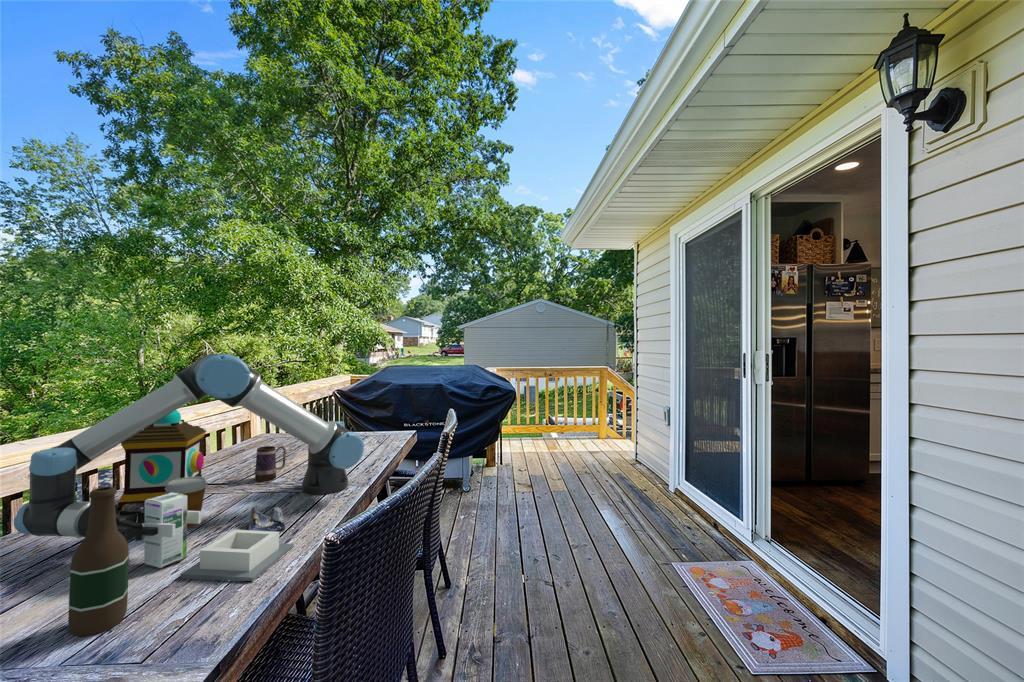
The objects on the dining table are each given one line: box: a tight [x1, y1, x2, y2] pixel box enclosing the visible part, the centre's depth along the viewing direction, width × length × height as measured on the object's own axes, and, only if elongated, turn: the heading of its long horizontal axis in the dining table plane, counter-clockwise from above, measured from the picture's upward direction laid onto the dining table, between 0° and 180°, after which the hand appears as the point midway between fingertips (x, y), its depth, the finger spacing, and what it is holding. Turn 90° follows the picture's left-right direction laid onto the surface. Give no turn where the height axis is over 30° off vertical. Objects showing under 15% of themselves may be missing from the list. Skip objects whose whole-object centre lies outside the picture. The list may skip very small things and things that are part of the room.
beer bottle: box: [67, 485, 130, 638], centre depth 80 cm, size 8×8×24 cm
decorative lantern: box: [116, 409, 207, 510], centre depth 141 cm, size 20×20×30 cm
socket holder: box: [179, 529, 295, 582], centre depth 103 cm, size 16×16×5 cm
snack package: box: [248, 505, 286, 532], centre depth 123 cm, size 12×6×12 cm
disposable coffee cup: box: [165, 476, 208, 529], centre depth 124 cm, size 10×10×12 cm
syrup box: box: [143, 492, 188, 569], centre depth 102 cm, size 6×6×14 cm
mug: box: [254, 444, 287, 483], centre depth 167 cm, size 10×7×12 cm
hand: (187, 523), depth 102 cm, fingers closed on syrup box, 7 cm apart
